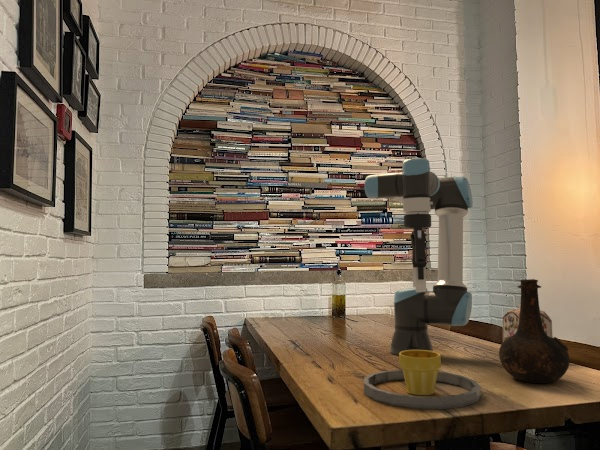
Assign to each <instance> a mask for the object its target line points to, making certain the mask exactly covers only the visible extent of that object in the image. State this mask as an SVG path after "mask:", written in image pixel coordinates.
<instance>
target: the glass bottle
mask: <svg viewBox="0 0 600 450" xmlns="http://www.w3.org/2000/svg"><path fill="white" fill-rule="evenodd" d="M538 282H539V280H538V279H535V278H532V279H531V278H530V279H529V278H527V279H526V278H525V279H521V280H520V285H517V288H518V289H520V304H521V306H520V317H519V324H518V329H517V331H516V333H515V334H514V335H513V336H511V337H509V338H507V339H506V340H505V341H504V342H503V341H502V343H501V344H500V347H499V350H498V358H499V361H500V363H501V366H502V367H503V369H504V370H505V371H506V372H507V374H509V375H510V376H511V377H513V378H514V379H516V380H519V381H522V382H526V383H530V384H531V383H533V384H548V383H553V382H557V381H558V380H559V379H561V378H563V377H564V375H565V374H566V373H567V371H568V370H569V366H570V355H569V348H568V346H567V345H566V344H564V343H563V342H562V340H560V339H559V338H558V337H556V336H553V338H551V337H549V336H547V335H546V333H545V331H544V328H543V325H542V320H541V314H540V310H541V309H540V301H539V291H538V290H539V289H540V288H542V286H541V285H539V284H538Z"/></svg>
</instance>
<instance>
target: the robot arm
mask: <svg viewBox="0 0 600 450" xmlns="http://www.w3.org/2000/svg"><path fill="white" fill-rule="evenodd" d="M430 166H431V165H430V161H429V159H428V158H425V157H424V158H423V157H420V158H419V157H418V158H417V157H416V158H415V157H414V158H409V159H408V158H407V159H405V160H404V161H403V162H402V169H401V170H402V171H401V172H396V173H394V172H393V173H382V174H380V173H379V174H378V173H377V174H371V175H367V176H366V177H365V180H364V184H363V185H364V193H365V195H366V198H368V199H371V200H373V199H375V200H378V199H386V200H391V201H396V202H400V203H401V204H402V209H403V210H402V212H403V213H404V216H403V227H404V228H405V229H412V231H411V234H410V237H409V238H410V247H411V257H412V259H411V263H412V288H405V289H399V290H396V291H395V292H394V300H393V305H394V306H393V307H394V309H393V310H394V311H393V313H394V332H393V335H392V338H391V343H390V345H389V352H390V354H393V355H396V356H399V353H400V352H402V351H406V350H428V351H434V347H433V344H432V341H431V340H432V339H431V337H430V334H429V332H428V325H437V326H451V327H458V326H459V327H461V326H462V327H464V326H466V325H467V324H468V323H469V321H470V317H471V315H472V307H473V295H472V293H471V292H470V291H468V286H467V285H466V284H465V283H464V282H463V281H464V279H463V278H464V271H463V270H464V218H465V216H467V215H468V214H469V209H472V208H473V196H472V189H471V185H470V183H469V182H470V181H469V180H468V178H467V177H466V176H450V177H438V176H437V175H436V173H435V172H432V171H431V167H430ZM432 210H434V214H435V215H436V216H437V218H438V237H437V238H438V240H437V241H438V243H437V244H438V246H437V281H436V283H434V284H433V285H432V291H431V290H430V291H428V288H427V269H426V266H427V260H426V259H427V258H426V239H427V238H426V237H427V236H426V235H427V234H426V233H425V230H424V228H426V229H427V228H431V227H432V215H431V214H429V213H431V211H432Z"/></svg>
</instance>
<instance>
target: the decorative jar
mask: <svg viewBox="0 0 600 450" xmlns="http://www.w3.org/2000/svg"><path fill="white" fill-rule="evenodd" d="M520 306H521V303H520V304H518V308H512V309H509V310H507V311H506V313H504V315H503V316H502V343H503V342H504V341H505V340H506V339H507V338H509V337H511V336H513V335H514V334H515V333H516V331H517V329H518V324H519V317H520ZM540 314H541V320H542V325H543V328H544V331H545V333H546V335H547V336H549V337H551V338H554V336H553V321H552V318H551V317H550V316H549V314H548V313H546V311H544V310H541V309H540Z"/></svg>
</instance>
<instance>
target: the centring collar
mask: <svg viewBox="0 0 600 450" xmlns="http://www.w3.org/2000/svg"><path fill="white" fill-rule="evenodd" d="M401 380H402V381H403V380H404V381H405V378H404V374H403V369H391V370H382V371H377V372H374V373H370V374H368V375H367V376H365V377H364V378H363V394H364V395H366V396H367V397H369V398H370V399H372V400H374V401H377V402H380V403H383V404H386V405H389V406H396V407H400V408H401V407H402V408H409V409H416V410H417V409H418V410H419V409H420V410H447V409H457V407H460V408H465V407H468V406H471V405H474V404H476V402H477V403H478V401H479V400H480V398H481V397H482V396H481V393H482V392H481V385H480V384H479V383H477V381H476V380H474V379H471V378H468V377H466V376H464V375H459V374H455V373H450V372H446V371H439V370H438V374H437V379H436V383H437V382H439V383H444V382H445V383H444V384H450V385H453V384H454V386H457V385H459V386H458V387H460V386H461V387H460V388H463V389H465V388H466V389H465V390H467V389H468V391H466V392H464V393H463V392H462V393H460V394H452V395H441V396H440V395H439V396H434V395H433V396H432V395H424V396H423V395H413V394H405V393H404V394H403V393H398V392H392V391H387V390H384V389H381V388H377V387H376V386H374V385H376V384H380V383H381V384H382V383H384V382H389V381H401ZM470 390H471V391H470ZM473 403H474V404H473ZM470 404H471V405H470ZM467 405H468V406H467ZM464 406H465V407H464Z"/></svg>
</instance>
